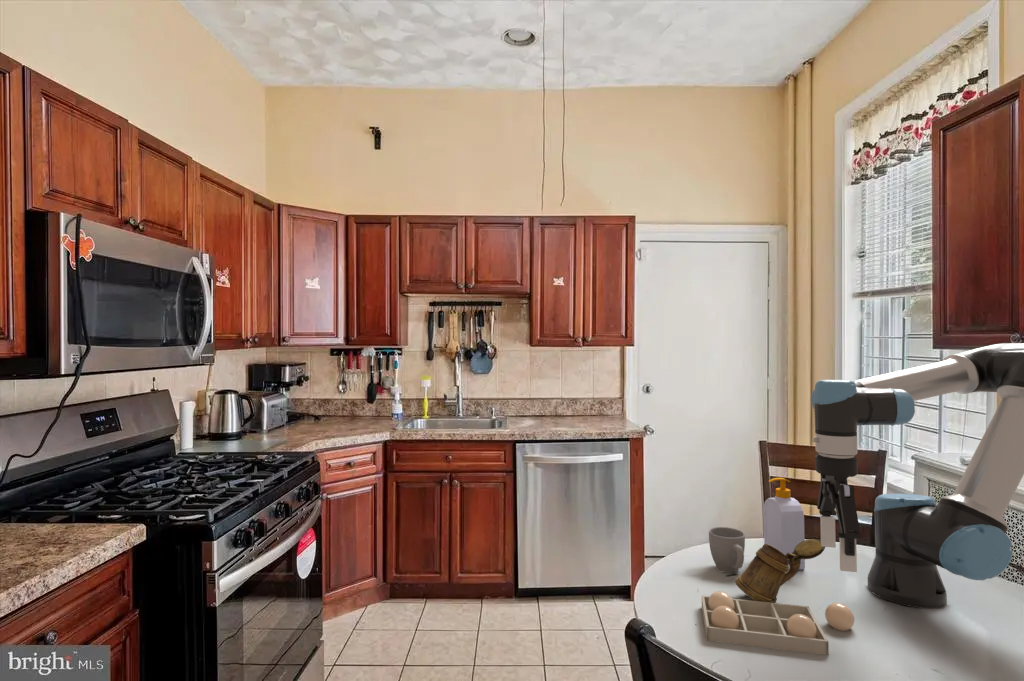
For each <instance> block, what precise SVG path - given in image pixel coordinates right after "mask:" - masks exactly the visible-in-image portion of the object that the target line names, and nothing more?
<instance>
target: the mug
mask: <svg viewBox="0 0 1024 681" xmlns="http://www.w3.org/2000/svg"><path fill="white" fill-rule="evenodd" d="M708 541H709V542H708V543H709V549H710V553H711V556H712V561H713V562H714V564H715V568H716V570H717V571H720V572H722V573H727V574H735V573H738V571H739V569H742V567H743V565H744V563H745V562H744V561H745V546H746V536H745V533H744V531H742V530H740V529H737V528H733V527H728V526H727V527H726V526H717V527H712V528H710V529H709V530H708Z"/></svg>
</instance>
